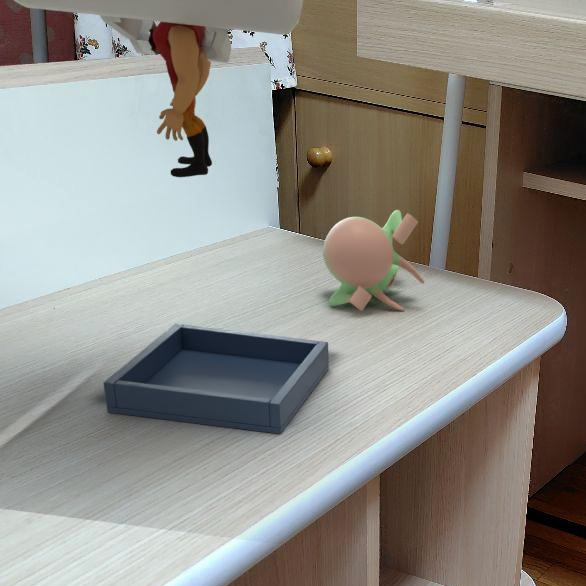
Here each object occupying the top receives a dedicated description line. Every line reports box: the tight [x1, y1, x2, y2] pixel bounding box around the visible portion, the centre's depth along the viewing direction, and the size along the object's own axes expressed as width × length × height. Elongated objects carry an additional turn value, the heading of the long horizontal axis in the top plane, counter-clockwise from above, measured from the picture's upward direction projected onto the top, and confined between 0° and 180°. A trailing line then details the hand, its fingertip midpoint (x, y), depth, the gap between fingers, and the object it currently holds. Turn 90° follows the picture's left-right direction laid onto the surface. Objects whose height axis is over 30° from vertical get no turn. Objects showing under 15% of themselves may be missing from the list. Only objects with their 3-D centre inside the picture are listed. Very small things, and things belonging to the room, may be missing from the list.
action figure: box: [152, 22, 213, 178], centre depth 73 cm, size 10×4×15 cm, turn 10°
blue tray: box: [103, 323, 330, 435], centre depth 81 cm, size 14×14×2 cm
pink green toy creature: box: [322, 209, 426, 312], centre depth 102 cm, size 12×10×9 cm
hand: (185, 50), depth 73 cm, fingers closed on action figure, 4 cm apart
